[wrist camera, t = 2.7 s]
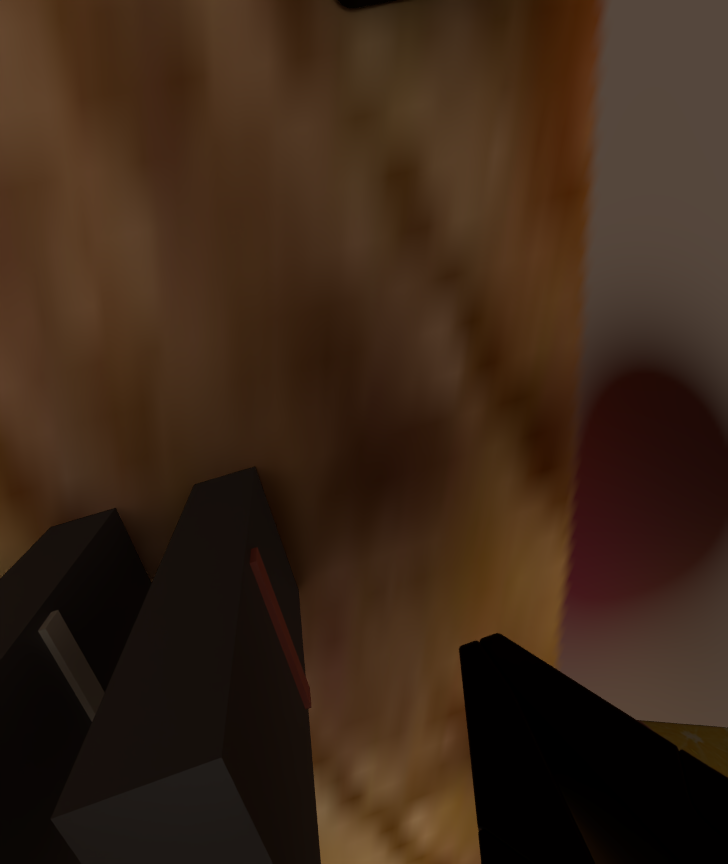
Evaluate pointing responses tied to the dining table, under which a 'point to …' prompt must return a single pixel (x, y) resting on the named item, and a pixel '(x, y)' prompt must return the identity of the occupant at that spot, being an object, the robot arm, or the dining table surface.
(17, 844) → the domino
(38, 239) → the dining table surface
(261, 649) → the domino
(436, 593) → the dining table surface
